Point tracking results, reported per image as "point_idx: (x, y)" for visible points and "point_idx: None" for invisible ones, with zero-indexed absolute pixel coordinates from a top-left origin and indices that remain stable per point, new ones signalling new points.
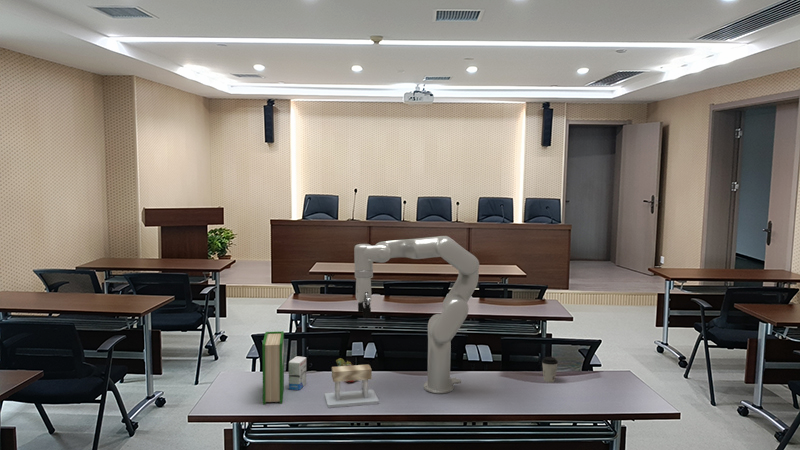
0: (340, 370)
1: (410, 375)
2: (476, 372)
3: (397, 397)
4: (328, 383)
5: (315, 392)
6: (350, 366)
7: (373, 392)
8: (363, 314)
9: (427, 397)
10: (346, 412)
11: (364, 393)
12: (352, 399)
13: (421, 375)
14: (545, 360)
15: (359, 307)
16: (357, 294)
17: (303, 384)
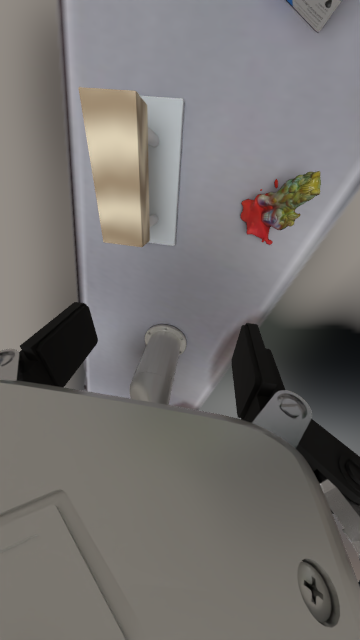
0: (94, 127)
1: (229, 329)
2: (203, 392)
3: (144, 278)
4: (272, 139)
5: (222, 67)
6: (131, 182)
7: (159, 241)
8: (62, 315)
9: (137, 316)
10: (82, 150)
11: None
12: None
13: (222, 342)
14: None
15: (246, 354)
16: (47, 557)
17: (297, 4)
